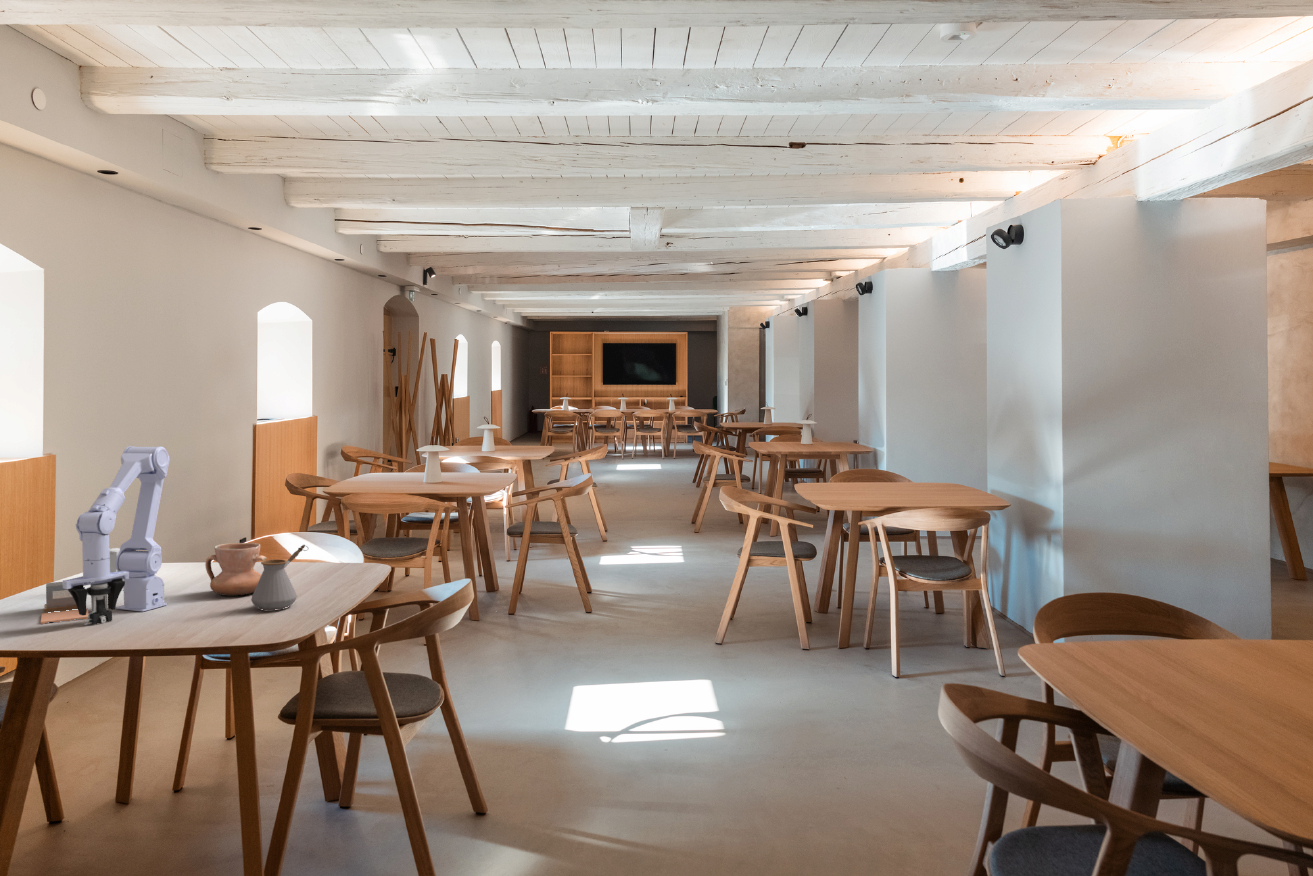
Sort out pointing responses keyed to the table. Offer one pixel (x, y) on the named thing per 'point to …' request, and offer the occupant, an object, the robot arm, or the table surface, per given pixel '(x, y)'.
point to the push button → (99, 603)
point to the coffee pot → (275, 585)
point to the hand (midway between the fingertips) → (97, 611)
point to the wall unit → (58, 598)
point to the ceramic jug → (235, 568)
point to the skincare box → (113, 556)
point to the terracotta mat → (62, 616)
